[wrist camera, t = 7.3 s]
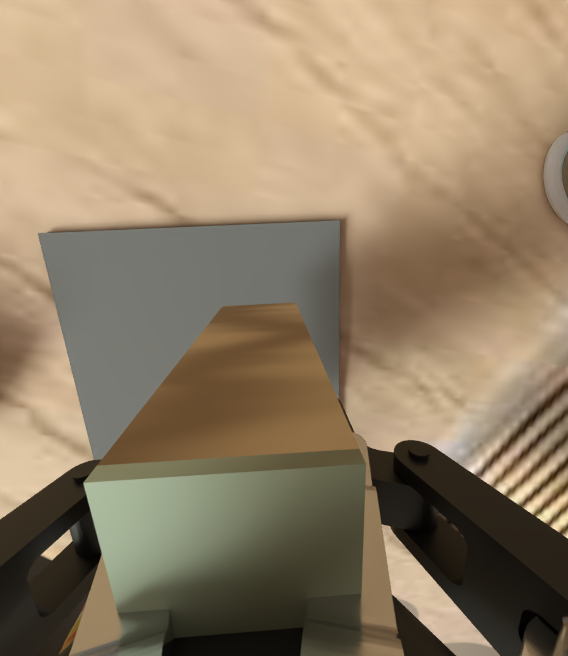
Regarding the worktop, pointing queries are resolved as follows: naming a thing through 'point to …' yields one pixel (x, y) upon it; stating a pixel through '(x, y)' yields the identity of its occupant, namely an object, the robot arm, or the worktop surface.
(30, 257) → the worktop surface
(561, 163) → the pacifier
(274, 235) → the mat
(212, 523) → the block
